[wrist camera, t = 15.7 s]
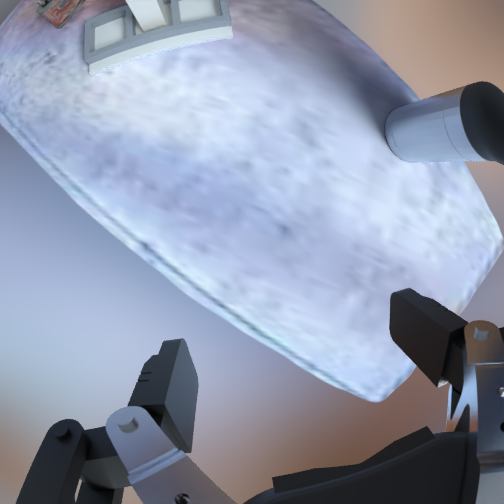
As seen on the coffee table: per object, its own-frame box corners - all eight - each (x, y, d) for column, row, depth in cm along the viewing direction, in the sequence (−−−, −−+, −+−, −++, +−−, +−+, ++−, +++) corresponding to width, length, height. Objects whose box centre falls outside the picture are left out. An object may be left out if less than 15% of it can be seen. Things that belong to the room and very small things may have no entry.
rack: (221, -14, 29) (221, -24, 26) (232, 38, 32) (233, 28, 29) (93, 22, 29) (85, 14, 26) (92, 76, 32) (83, 69, 29)
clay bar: (165, 9, 29) (152, -27, 19) (167, 27, 30) (152, -9, 20) (143, 15, 29) (125, -19, 19) (144, 33, 30) (125, -1, 20)
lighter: (63, 29, 28) (36, 7, 18) (52, 27, 27) (26, 7, 18) (90, -4, 27) (68, -30, 17) (78, -5, 26) (57, -30, 16)
